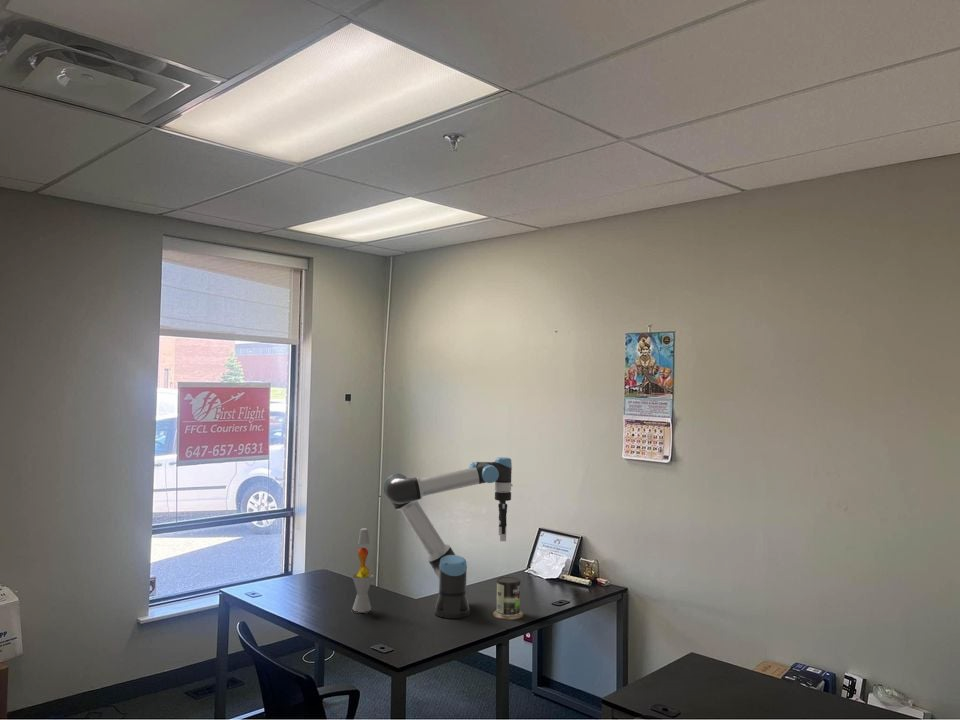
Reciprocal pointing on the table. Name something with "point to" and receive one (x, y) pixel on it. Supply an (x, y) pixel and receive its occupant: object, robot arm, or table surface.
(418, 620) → the table surface
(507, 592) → the coffee can
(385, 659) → the table surface
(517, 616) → the cork mat
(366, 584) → the lava lamp
